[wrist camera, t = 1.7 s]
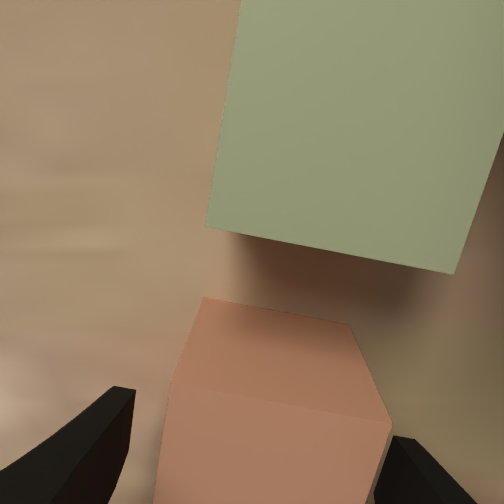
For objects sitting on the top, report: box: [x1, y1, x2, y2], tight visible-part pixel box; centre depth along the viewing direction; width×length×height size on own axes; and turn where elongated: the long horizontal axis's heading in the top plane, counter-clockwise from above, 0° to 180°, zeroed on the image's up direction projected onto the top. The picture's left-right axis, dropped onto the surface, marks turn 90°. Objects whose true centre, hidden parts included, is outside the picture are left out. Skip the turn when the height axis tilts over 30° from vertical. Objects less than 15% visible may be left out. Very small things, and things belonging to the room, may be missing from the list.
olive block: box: [205, 0, 504, 275], centre depth 10 cm, size 5×5×5 cm
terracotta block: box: [152, 297, 392, 504], centre depth 12 cm, size 5×5×5 cm
